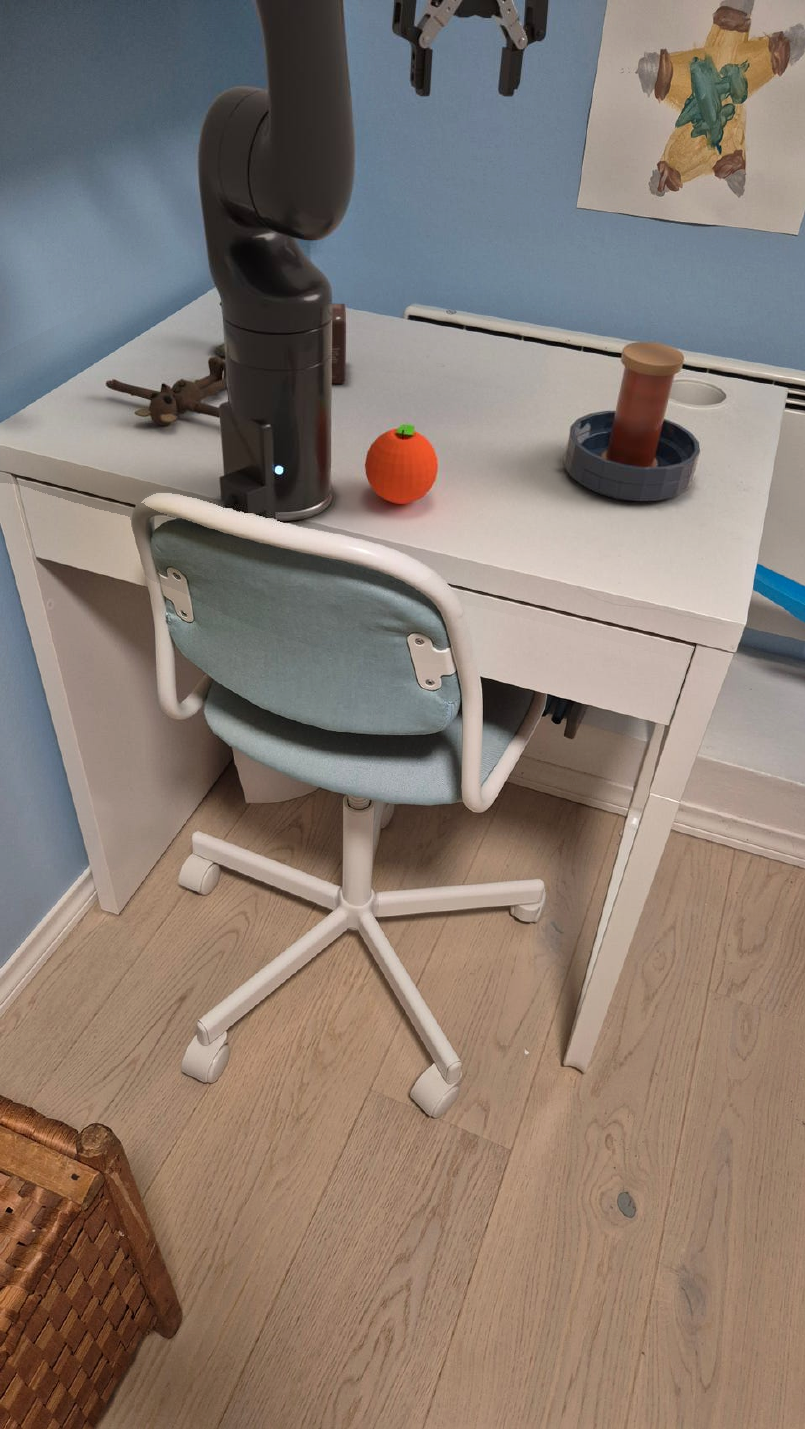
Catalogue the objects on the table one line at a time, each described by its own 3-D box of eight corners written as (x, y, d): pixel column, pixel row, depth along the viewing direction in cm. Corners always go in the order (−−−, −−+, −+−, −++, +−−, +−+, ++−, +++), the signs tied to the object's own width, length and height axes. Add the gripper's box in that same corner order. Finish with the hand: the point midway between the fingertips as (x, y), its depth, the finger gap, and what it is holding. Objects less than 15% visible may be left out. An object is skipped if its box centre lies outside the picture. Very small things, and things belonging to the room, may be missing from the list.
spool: (634, 488, 98) (661, 370, 90) (588, 466, 101) (610, 351, 93) (666, 470, 101) (696, 355, 93) (621, 450, 104) (645, 337, 96)
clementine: (376, 472, 99) (378, 405, 94) (443, 483, 98) (449, 415, 93) (355, 510, 93) (357, 440, 88) (427, 522, 92) (433, 452, 87)
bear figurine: (295, 373, 108) (224, 409, 97) (294, 411, 111) (224, 450, 100) (158, 339, 113) (76, 370, 102) (160, 377, 116) (80, 411, 105)
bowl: (641, 520, 94) (651, 482, 92) (538, 469, 101) (543, 433, 98) (714, 479, 101) (724, 443, 99) (612, 434, 108) (620, 400, 105)
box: (345, 365, 119) (346, 303, 114) (345, 385, 114) (346, 322, 109) (295, 363, 118) (294, 300, 113) (292, 383, 114) (291, 319, 109)
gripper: (418, -135, 77) (407, 104, 88) (579, -124, 81) (549, 103, 92) (388, -138, 82) (380, 88, 93) (540, -128, 86) (516, 87, 97)
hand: (464, 95), depth 92 cm, fingers open, 8 cm apart
